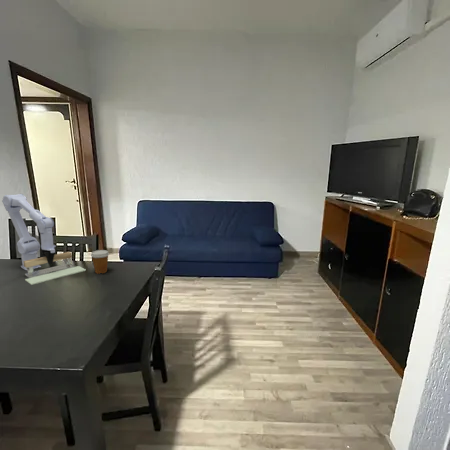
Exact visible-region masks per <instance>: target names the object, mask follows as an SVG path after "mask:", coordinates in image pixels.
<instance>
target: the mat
mask: <svg viewBox="0 0 450 450" xmlns="http://www.w3.org/2000/svg"><path fill="white" fill-rule="evenodd" d="M86 271H87V270H86V268H83V267H82V266H80V265H77V266H73V268H69V269H65V270H61V271H57V272H53V273H49V274H45V275H41V276H37V277H33V278H29V277H27V278H25V279H24V280H25V282H27V283H28V284H30V285H31V286H32V285H38V284H40V283H44V282H48V281H52V280H55V279H59V278H64V277H68V276H71V275H74V274H78V273H82V272H86Z"/></svg>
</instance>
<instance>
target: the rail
mask: <svg viewBox="0 0 450 450" xmlns="http://www.w3.org/2000/svg"><path fill="white" fill-rule="evenodd" d="M68 258H71V259H72V258H73V254H72V252H70V251H67V252H66V251H65V252H62V253H61V252H60V253H57V254H56V253H55V255H54V258H53V263H54V262H58V261H64V259H68ZM23 262H24V267H26V268H27V267H31V266H36V265H40V266H41V265H44V264H49V263H48V261H47V257H44V256H42V257H38V258H36V259H31V260H26V261H23Z"/></svg>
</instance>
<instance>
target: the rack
mask: <svg viewBox="0 0 450 450" xmlns="http://www.w3.org/2000/svg"><path fill="white" fill-rule="evenodd" d="M63 261H64V262H65V264H61V265H55V266H51V267H48V268H44V269H43V268H42V269H38V270H35V271H34V269H33V267H27V268H26V270H25V271H27V272H26V273H24V275H25V276H26V277H27V278H33V277H37V276H41V275H45V274H49V273H53V272H57V271H61V270H65V269H69V268H73V267H74V265H72V264H71V263H72V258H68V259H63Z"/></svg>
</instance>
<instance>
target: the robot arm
mask: <svg viewBox="0 0 450 450" xmlns="http://www.w3.org/2000/svg"><path fill="white" fill-rule="evenodd" d="M1 202H2V205H3V206H4V209H5V211H6V212H7V214H8V215H9V218H10V219H11V220H10V221H11V222H12V225H13V227H14V228H15V231H16V233H17V236H18V238H19V239H18V241H17V243H16V246H17V251H18V253H19V254H20V255H21V258H20V259H21V264H22V265H20V267H21V268H22V269H23V270H25V271H27V270H26V267H24V262H23V261H26V260H31V259H36V258H39V257H38V252H39V250H40V249H41V250H40V253H41V254H42V257H47V261H48V263H47V264H53V263H54V262H53V258H54V255H56V253H57V251H56V247H57V245H55V244H54V236H53V227H54V225H55V222H54V219H53V218H52V217H48V216H46V215H44V214H43V212H41V211H40V210H39V209H35V208H34V207H33V206H32V205H31V204H30V202H28V197H26V196H25V195H24V194H23V193H19V194H18V193H16V194H5V195H3V198H2V200H1ZM22 209H23V210H24V211H26V213H28V216H29V218H30V219H31V220H32V221H34V222H35V223H36V227H37V229H38V232H39V233H40V242H39V241H38V240H37V238H36V237H34V236H31V234H30V232H29V230H28V228H27V226H26V225H27V224H26V223H25V221H24V218H23V216H22V214H21V212H20V210H22ZM40 243H41V244H40ZM31 267H33V270H35V269H38V268H42V265H41V264H40V265H36V266H31Z"/></svg>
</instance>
